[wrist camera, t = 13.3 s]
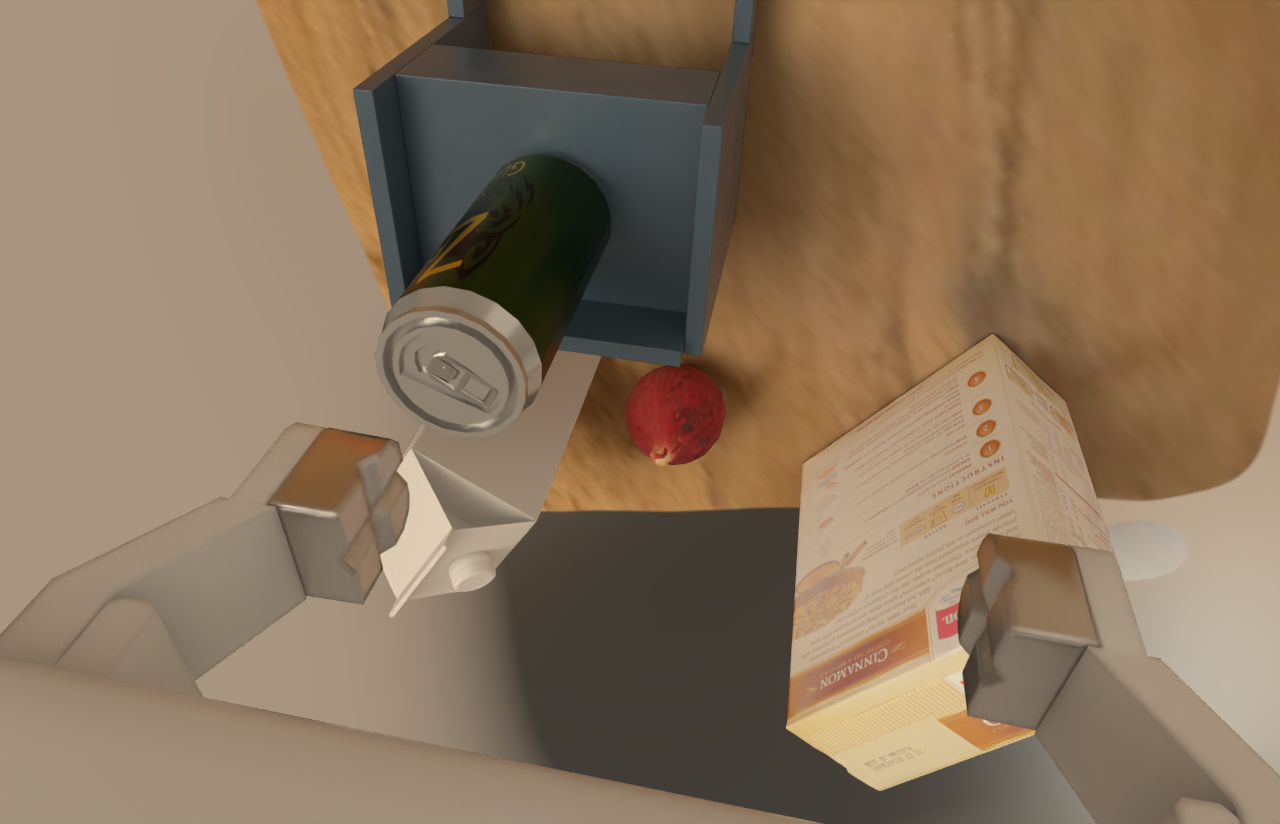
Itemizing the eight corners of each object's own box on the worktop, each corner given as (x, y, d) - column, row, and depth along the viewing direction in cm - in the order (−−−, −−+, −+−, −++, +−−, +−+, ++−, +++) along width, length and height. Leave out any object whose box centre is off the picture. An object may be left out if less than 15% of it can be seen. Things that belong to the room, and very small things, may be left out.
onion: (691, 322, 51) (668, 404, 45) (749, 387, 53) (736, 474, 47) (620, 367, 54) (591, 449, 48) (679, 426, 57) (657, 512, 50)
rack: (447, -258, 36) (275, -246, 25) (784, -242, 34) (753, -222, 23) (487, 191, 49) (383, 326, 38) (734, 220, 47) (698, 370, 36)
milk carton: (460, 361, 57) (325, 583, 42) (507, 287, 52) (374, 507, 38) (552, 416, 58) (452, 650, 44) (605, 349, 54) (513, 584, 39)
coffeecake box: (872, 521, 58) (878, 796, 44) (797, 462, 56) (777, 729, 42) (1073, 403, 50) (1166, 697, 35) (992, 328, 48) (1055, 606, 33)
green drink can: (639, 197, 35) (563, 368, 26) (576, 287, 38) (489, 468, 29) (525, 120, 34) (403, 270, 25) (470, 220, 37) (345, 386, 28)
